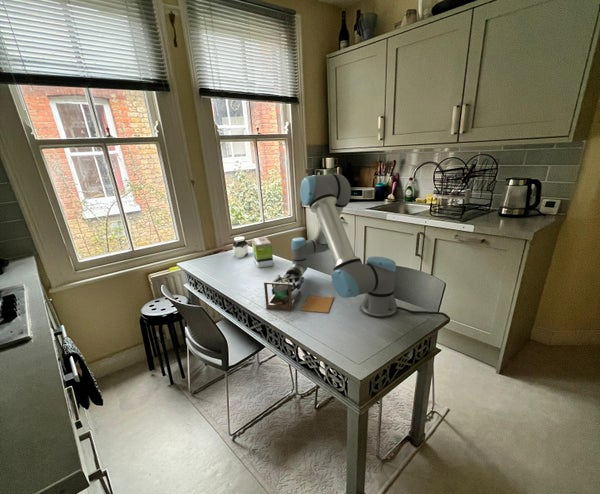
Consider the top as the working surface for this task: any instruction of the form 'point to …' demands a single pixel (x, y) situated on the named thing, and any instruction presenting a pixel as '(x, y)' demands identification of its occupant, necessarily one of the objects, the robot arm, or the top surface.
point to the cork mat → (317, 304)
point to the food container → (281, 292)
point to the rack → (280, 306)
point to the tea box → (262, 252)
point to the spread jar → (240, 247)
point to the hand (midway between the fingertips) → (280, 292)
